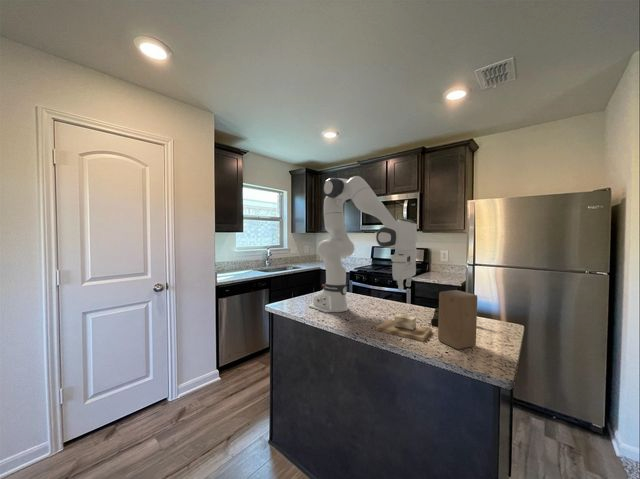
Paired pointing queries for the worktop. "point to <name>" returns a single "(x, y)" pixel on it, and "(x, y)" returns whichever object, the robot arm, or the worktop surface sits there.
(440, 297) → the wooden block
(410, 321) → the sanding block
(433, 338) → the worktop surface
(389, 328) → the board
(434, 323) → the hand tool
